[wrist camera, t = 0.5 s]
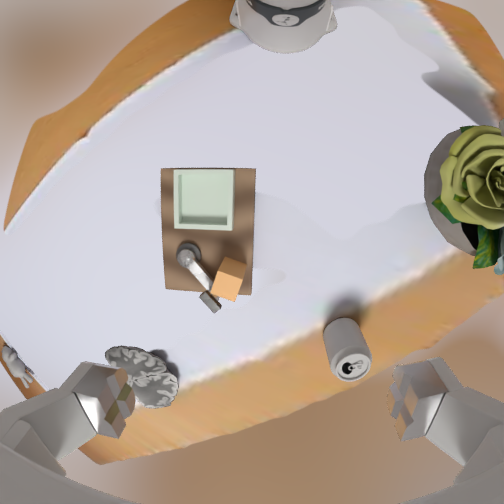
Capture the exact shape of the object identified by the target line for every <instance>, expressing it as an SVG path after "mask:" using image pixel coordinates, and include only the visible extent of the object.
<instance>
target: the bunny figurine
mask: <svg viewBox="0 0 504 504" xmlns="http://www.w3.org/2000/svg"><path fill="white" fill-rule="evenodd" d="M2 357H3V360H4V361H5V362H6V363H7V367H9V370H10V372H11V373H12V375H13V376H14V377H20V378H21V380H22V382H23V384H24V385H25V387H26V388H28V387H29V385H28V383H27V382H26V380H27V381H28V382H30V383H31V382H32V381H33V379H32V377H31V376H29V375H28V374H27V373H25V365H24V363H23V362H22V361H21V360H20V359H19V358H18V357H17V354H16V353H15V352H13V350H12V349H11V348H9V347H7V346H4V347H3V350H2ZM24 377H25V378H26V380H25V379H24Z"/></svg>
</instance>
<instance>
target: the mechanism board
mask: <svg viewBox="0 0 504 504" xmlns="http://www.w3.org/2000/svg"><path fill="white" fill-rule="evenodd" d="M177 169H235V204H234V228H233V230H232V231H229V230H204V229H176V228H174V170H177ZM255 174H256V169H251V168H250V169H249V168H163V169H161V218H162V240H163V241H162V242H163V260H164V274H165V287H166V289H173V290H184V291H196V292H204V291H206V290H207V289H206V288H205V287H204V286H203V285H202V284H201V283H200V282H199V280H198V279H197V278H196V277H195V276H194V275H193V274H192V272H191V271H190V270H189V269H188V268H187V267H183V266H182V265H180V263H179V262H178V254H179V253H180V252H181V251H182V250H183V249H185V248H189V249H192V250H193V251H194V252H195V254H196V259H197V260H198V262H199V263H200V264H201V265H202V266H203V267H204V269H205V270H206V271H207V272H208V273H209V274H210V275H211V276H212V278H213V279H214V280H215V278H216V275H217V272H218V269H219V267H220V265H221V263H222V261H223V259H224V257H228V258H231V259H234V260H236V261H239V262H242V263H245V264H247V266H246V270H245V274H244V278H243V281H242V284H241V286H240V289H239V292H238V294H239V295H251V292H252V265H253V236H254V207H255V177H256V175H255Z"/></svg>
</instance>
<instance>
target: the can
mask: <svg viewBox="0 0 504 504" xmlns="http://www.w3.org/2000/svg"><path fill="white" fill-rule="evenodd" d="M323 339H324V344H325V348H326V352H327V356H328V360H329V364H330V368H331V371H332V373H333V374H334V375H335V376H337V377H338V378H339V379H340V380H343V381H355V380H358V379H360V378H362V377H363V376H365V375H366V374H367V372H368V371H369V369H370V367H371V362H372V354H371V352H370V350H369V347H368V345H367V343H366V341H365V339H364V337H363V334H362V332H361V330H360V328H359V326H358V324H357V323H356V322H355V321H354V320H352V319H350V318H340V319H336V320H334V321H332V322H331V323H330V324H329V325H328V326H327V327H326V329H325V330H324V334H323Z"/></svg>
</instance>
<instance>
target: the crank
mask: <svg viewBox="0 0 504 504" xmlns="http://www.w3.org/2000/svg"><path fill="white" fill-rule="evenodd" d="M178 262H179V263H180V265H182V266H183V267H187V268H188V269H189V270H190V271H191V272H192V274H193V275H194V276H195V277H196V278H197V279H198V280H199V282H200V283H201V284H202V285H203V286H204V287H205V288H206V289H207V290H206V291H204V292H203V293H202V294H201V295H200V299H201V300H202V301H203V302H204V303H205V304H206V305H207V306H208V307H209V308H210V309H211V311H212V312H213V313H215V312H217V311H218V310H220V309H221V304H220V303H219V302H218V300H219V298H220V297H219V296H217V295H214V294H211V293H210V292H211V289H212V286H213V283H214V281H215V280H214V279H213V278H212V276H211V275H210V274H209V273H208V272H207V271H206V270H205V269H204V267H203V266H202V265H201V264H200V263H199V262H198V260H197V259H196V254H195V252H194V251H193V250H192V249H189V248H185V249H183V250H182V251H181V252H180V253H179V254H178Z"/></svg>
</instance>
